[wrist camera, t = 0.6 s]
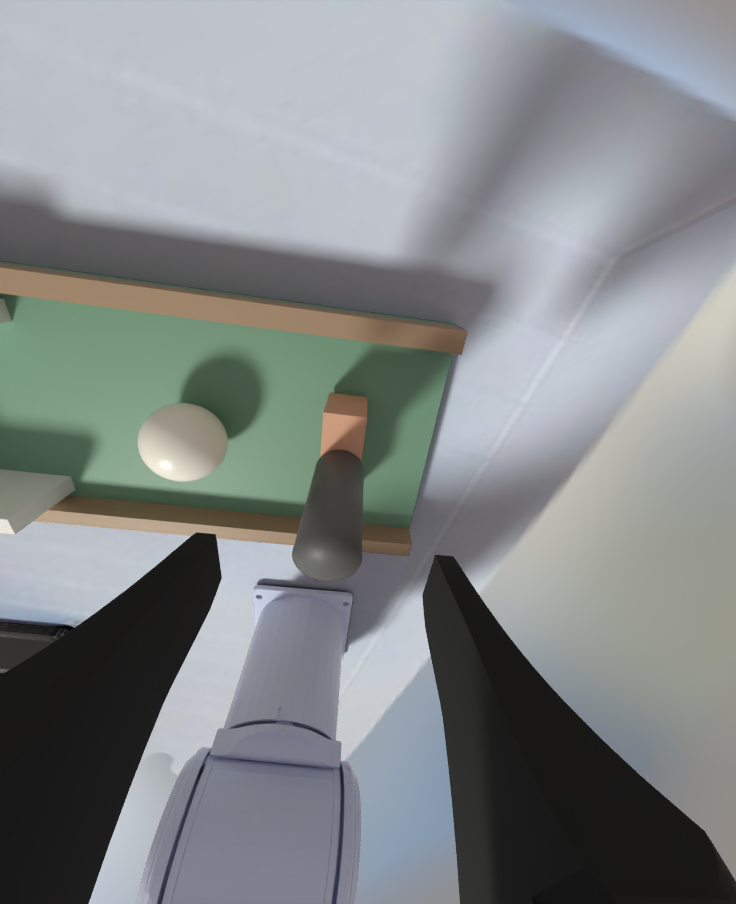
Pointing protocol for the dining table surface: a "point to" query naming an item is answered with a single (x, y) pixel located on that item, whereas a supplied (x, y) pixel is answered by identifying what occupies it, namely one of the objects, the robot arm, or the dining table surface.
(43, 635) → the phone
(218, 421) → the ball
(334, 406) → the kicker
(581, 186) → the dining table surface
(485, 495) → the dining table surface
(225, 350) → the pitch
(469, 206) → the dining table surface
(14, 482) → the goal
